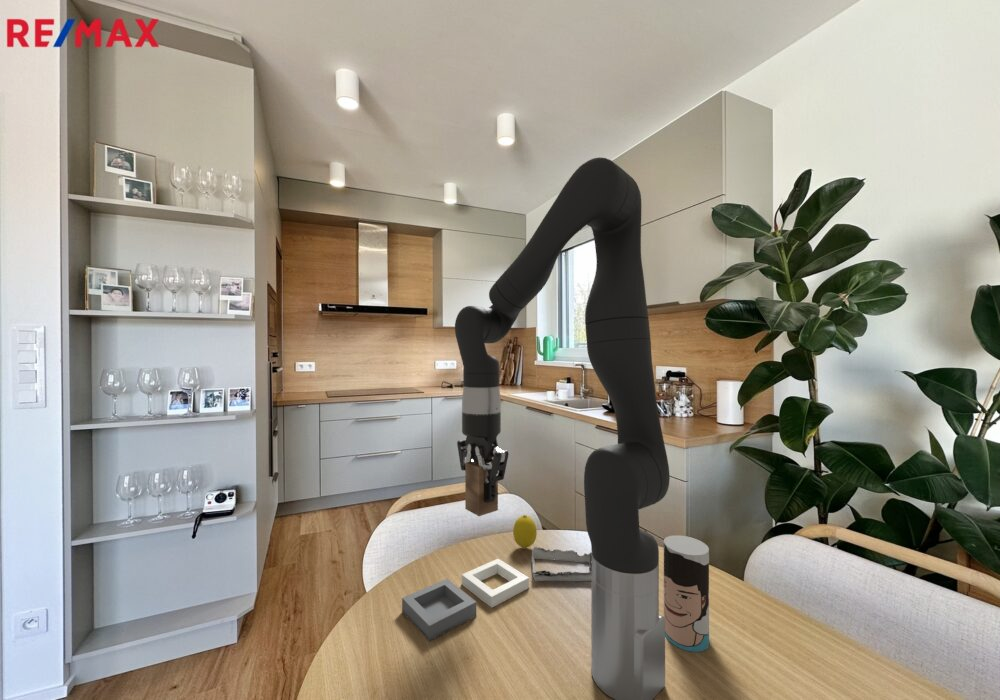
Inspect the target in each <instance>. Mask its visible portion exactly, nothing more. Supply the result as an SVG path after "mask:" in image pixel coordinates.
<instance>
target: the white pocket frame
mask: <svg viewBox="0 0 1000 700" xmlns="http://www.w3.org/2000/svg"><path fill="white" fill-rule="evenodd" d="M497 574H498V576H499V575H500V576H501V577H502V578H504V579H505V580H506V581H508V582H505V583H504V584H502V585H500V586H498V587H496V588H494V589H492V587H490V586H488V585H487V584H485V583H484V582H482V581H484V580H486V579H488V578H491V577H493V576H494V575H497ZM461 585H462V586H463V587H464V588H466V589H467V590H468V591H469V592H471V593H472V594H473V595H474V596H476V597H477V598H479V600H481V601H482V602H484V603H485V604H486V605H487V606H489V607H490V608H493V607H494V608H495V607H496V606H498V605H500V604H501V603H504V602H505V601H507V600H509V599H511V598H512V597H514V596H517V595H519V594H520V593H522V592H524V591H525V590H527V589H529V588H530V577H529V576H527V575H525V574H524V573H522V572H520V571H519V570H517V569H515V568H514V567H513V566H511V565H509V564H508V563H506V562H504V561H502V560H501V559H500V558H496V559H494V560H491V561H489V562H486V563H484V564H482V565H480V566H478V567H475V568H474V569H471V570H468V571H467V572H464V573H462V574H461Z"/></svg>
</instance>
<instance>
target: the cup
mask: <svg viewBox="0 0 1000 700" xmlns="http://www.w3.org/2000/svg"><path fill="white" fill-rule="evenodd" d="M663 617H664V618H665V639H666V640H668V642H670V643H671V644H672V645H673V646H675V647H678V648H679V649H682V650H684V651H687V652H692V653H693V652H694V653H695V652H696V653H698V652H703V651H705V650H707V649H708V648H709V646H710V548H709V546H708V545H707V544H706V543H705V542H703V541H701V540H699V539H697V538H694V537H690V536H687V535H679V534H678V535H669V536H666V537H665V538H664V540H663Z"/></svg>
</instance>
